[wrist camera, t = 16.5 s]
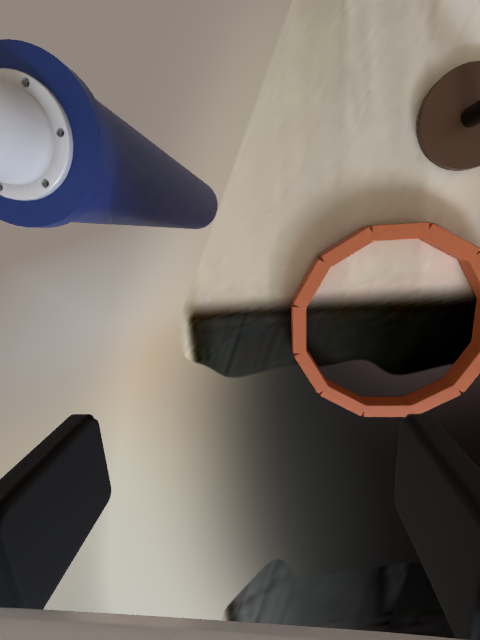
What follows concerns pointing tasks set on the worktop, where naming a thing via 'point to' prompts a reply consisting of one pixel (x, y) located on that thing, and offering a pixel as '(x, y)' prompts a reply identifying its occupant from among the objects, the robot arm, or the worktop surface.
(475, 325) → the ring
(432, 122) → the ring post
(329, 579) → the worktop surface
